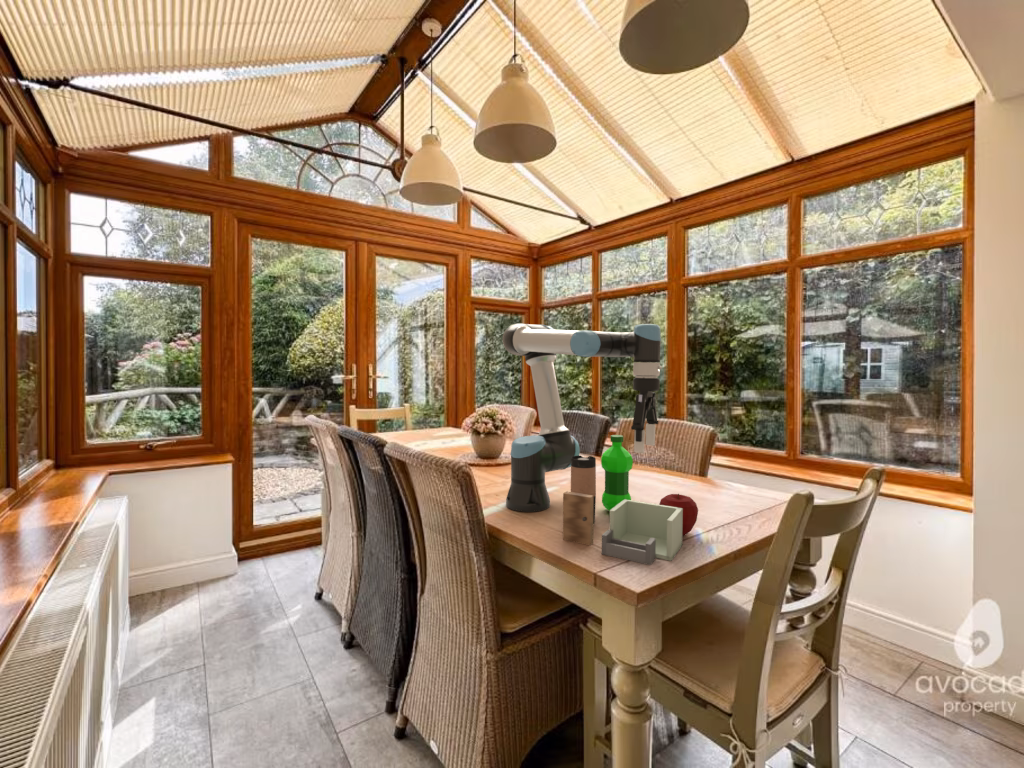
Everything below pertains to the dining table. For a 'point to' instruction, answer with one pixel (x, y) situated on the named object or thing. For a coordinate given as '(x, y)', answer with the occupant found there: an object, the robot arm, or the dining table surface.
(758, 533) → the dining table surface
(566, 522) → the door panel
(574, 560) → the dining table surface
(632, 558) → the cabinet
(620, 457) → the plastic bottle
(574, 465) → the travel mug
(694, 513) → the apple
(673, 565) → the dining table surface
